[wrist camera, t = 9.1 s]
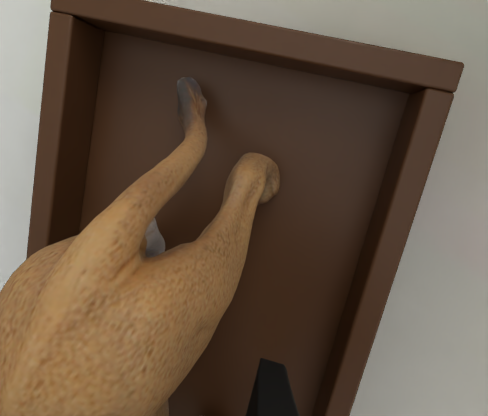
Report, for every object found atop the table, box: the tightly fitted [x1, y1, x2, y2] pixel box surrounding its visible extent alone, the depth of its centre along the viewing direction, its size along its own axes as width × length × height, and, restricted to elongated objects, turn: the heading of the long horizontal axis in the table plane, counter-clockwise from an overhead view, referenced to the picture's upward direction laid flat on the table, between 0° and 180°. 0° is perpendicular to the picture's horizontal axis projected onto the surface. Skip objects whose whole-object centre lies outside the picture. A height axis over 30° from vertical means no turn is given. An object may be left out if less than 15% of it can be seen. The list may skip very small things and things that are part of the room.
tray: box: [26, 0, 464, 416], centre depth 11 cm, size 17×9×2 cm, turn 168°
